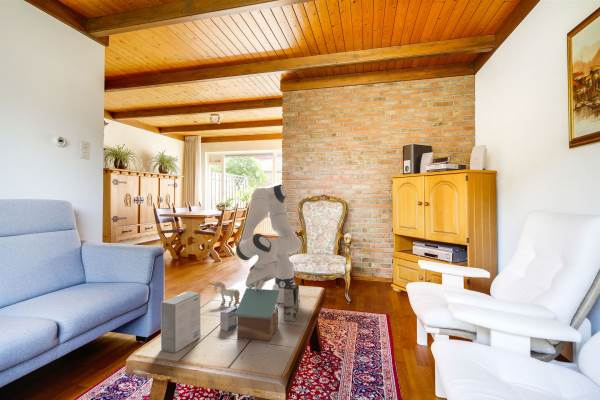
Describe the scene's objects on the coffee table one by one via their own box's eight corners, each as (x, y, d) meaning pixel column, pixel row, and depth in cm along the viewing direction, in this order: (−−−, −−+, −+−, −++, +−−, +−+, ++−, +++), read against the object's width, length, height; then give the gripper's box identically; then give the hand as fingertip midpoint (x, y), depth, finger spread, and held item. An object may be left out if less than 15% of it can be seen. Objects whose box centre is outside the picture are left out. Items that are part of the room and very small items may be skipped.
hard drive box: (187, 334, 133) (188, 290, 133) (201, 337, 130) (201, 292, 130) (159, 350, 119) (160, 301, 119) (174, 354, 116) (175, 303, 116)
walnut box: (248, 325, 143) (248, 305, 143) (278, 328, 140) (278, 307, 140) (237, 338, 129) (237, 316, 129) (269, 341, 127) (269, 319, 127)
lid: (246, 289, 143) (246, 288, 142) (279, 292, 139) (278, 290, 139) (235, 316, 129) (234, 315, 128) (271, 320, 126) (270, 318, 125)
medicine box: (227, 331, 136) (227, 313, 136) (219, 329, 138) (220, 311, 138) (237, 325, 144) (237, 307, 144) (229, 323, 145) (229, 306, 145)
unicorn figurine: (212, 301, 176) (212, 279, 176) (243, 303, 174) (243, 281, 174) (207, 305, 169) (207, 282, 169) (239, 307, 167) (239, 284, 167)
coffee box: (295, 321, 148) (295, 289, 148) (283, 320, 150) (283, 288, 150) (299, 314, 157) (299, 284, 157) (287, 313, 159) (287, 284, 159)
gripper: (283, 262, 143) (277, 287, 132) (256, 275, 154) (249, 299, 143) (273, 255, 140) (267, 280, 130) (247, 269, 151) (239, 293, 141)
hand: (257, 290), depth 137 cm, fingers closed
